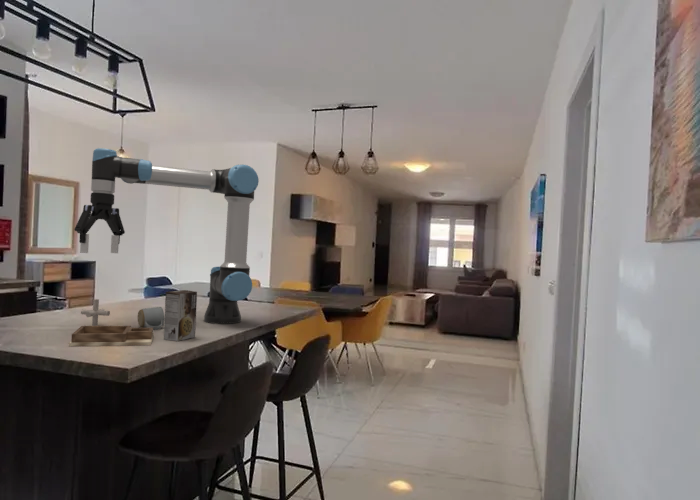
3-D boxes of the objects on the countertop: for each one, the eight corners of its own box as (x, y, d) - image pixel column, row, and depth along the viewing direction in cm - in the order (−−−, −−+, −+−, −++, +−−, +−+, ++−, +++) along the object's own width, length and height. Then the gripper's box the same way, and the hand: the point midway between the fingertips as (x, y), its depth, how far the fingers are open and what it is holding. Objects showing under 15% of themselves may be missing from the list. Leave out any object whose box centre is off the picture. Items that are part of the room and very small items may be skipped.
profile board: (153, 335, 174) (154, 325, 174) (150, 345, 158) (151, 334, 158) (79, 335, 167) (80, 325, 167) (68, 346, 151) (69, 334, 151)
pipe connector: (101, 329, 181) (102, 301, 181) (73, 327, 181) (75, 300, 181) (114, 324, 191) (116, 298, 191) (88, 323, 191) (90, 297, 191)
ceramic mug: (135, 326, 190) (137, 306, 190) (157, 325, 195) (158, 305, 195) (145, 331, 182) (146, 310, 182) (167, 329, 187) (168, 309, 187)
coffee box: (180, 335, 177) (183, 289, 177) (195, 337, 174) (198, 291, 174) (162, 339, 168) (164, 291, 168) (177, 341, 166) (180, 292, 166)
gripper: (120, 196, 190) (117, 252, 190) (64, 188, 166) (61, 252, 166) (136, 197, 187) (133, 253, 187) (82, 188, 164) (78, 253, 164)
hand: (99, 253), depth 177 cm, fingers open, 13 cm apart
